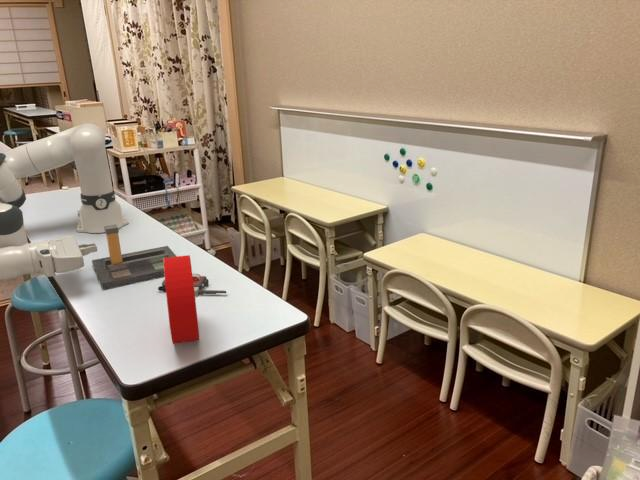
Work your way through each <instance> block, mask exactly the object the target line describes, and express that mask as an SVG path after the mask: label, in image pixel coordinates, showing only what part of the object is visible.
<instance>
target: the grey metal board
mask: <svg viewBox="0 0 640 480" xmlns="http://www.w3.org/2000/svg"><path fill="white" fill-rule="evenodd" d="M121 255H122V261H123V262H122V263H117V264H111V260H110V256H107V257H102V258H96V259H92V260H91V264H92V267H93V271H94V272H95V274H97V275H96V276H97V279H98V281H100V282H99V283H100V286H101V289H102V290H103V291H104V290H108V289H114V288H118V287H123V286H128V285H132V284H136V283H141V282H145V281H150V280H154V279H160V278H165V276H164V258H169V257H178V256H177V255H176V254H175V253H174V251H172V249H171V248H170V247H169V245H165V246H159V247H154V248H150V249H149V248H148V249H144V250H138V251H133V252H129V253H123V254H122V253H121Z"/></svg>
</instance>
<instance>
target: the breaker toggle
mask: <svg viewBox="0 0 640 480" xmlns="http://www.w3.org/2000/svg"><path fill="white" fill-rule="evenodd" d="M104 229H105V232H104V233H105V236H106V241H107V248H108V253H109V254H108V255H109V257H110V260H111V264H117V263H122V262H123V261H122V249H121V243H120V237H119V232H120V231H119V229H118V227H117V225H116V224H115V225H109V226H104Z"/></svg>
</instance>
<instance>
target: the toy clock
mask: <svg viewBox="0 0 640 480" xmlns="http://www.w3.org/2000/svg"><path fill="white" fill-rule="evenodd" d="M191 263H192V262H191V256H190V254H188V255H180V256H177V257H169V258H164V276H165V277H164V279H165V287H166V292H165V295H166V296H165V297H166V304H167V305H166V306H167V315H168V322H169V328H170V329H169V330H170V336H171V341H172V345H177V344H183V343H184V344H185V343H189V342H190V343H191V342H195V341H196V342H197V341H200V333H199V332H200V331H199V324H198V323H199V322H198V311H197V303H196V296H195V293H194V284H193V276H192V274H193V269H192V264H191Z"/></svg>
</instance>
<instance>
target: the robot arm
mask: <svg viewBox="0 0 640 480" xmlns="http://www.w3.org/2000/svg"><path fill="white" fill-rule="evenodd" d="M72 162H74V164H75V168H76V172H77V177H78V183H79V187H80V188H79V189H80V200H81V204H82V205H81V207H80V208H79V210H77V212H76V213H77V217H79V218H78V219H79V220H78V223H77V226H76V232H77V233H88V234H101V233H106V232H105V229H104V226H109V225H115V224H116V225H117V227H118V230H119V229H120V228H122V227H124V226H125V225H128V224H129V220H128V219H127V218H124V215H123V210H122V205H121V203H119V201H116V193H115V190H114V189H113V184H112V175H111V171H110V169H111V168H110V165H109V160H108V155H107V149H106V134H105V133H104V131H103V129H102V128H101V127H99V126H98V125H96V124H94V123H82V124H78V125H77V126H73V127H71V128H68V129H65V130H62V131H60V132H57V133H55V134H51V135H50V136H47V137H43V138H39V139H37V140H34V141H31V142H28V143H25V144H21V145H19V146H16V147H14V148H12V149H10V150H8V151H6V152H4V153H3V152H0V281H3V280H10V279H15V278H16V279H17V278H19V277H23V276H24V275H36V274H42V275H44V276H45V277H47V278H51V277H54V276H56V274H63V273H68V272H71V271H77V270H79V269H81V268H84V267H85V262H84V257H85V256H87V255H89V254H91V253H95V252H98V246H97V244H96V243H95V242H94V243H93V242H92V243H91V242H90V243H78V241H77V238H76V236H75V235H66V236H64V235H63V236H60V237H55V238H52V239H49V240H40V241H39V240H38V241H35V242H34V241H33V242H29V241H28V237H27V231H26V227H25V223H24V222H25V221H24V216H23V214H24V213H23V211H22V209H20V208H22V206H23V205H24V204H25V202H26V200H27V196H26V193H25V190H24V189H23V188H22V186H21V185H20V182H19V181H18V179H23V178H27V177H32V176H37V175H39V174H42V173H46V172H48V171H52V170H55V169H58V168H61V167H64V166H65V165H68V164H70V163H72ZM83 256H84V257H83Z"/></svg>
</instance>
